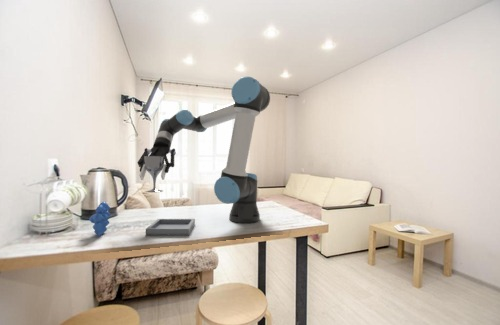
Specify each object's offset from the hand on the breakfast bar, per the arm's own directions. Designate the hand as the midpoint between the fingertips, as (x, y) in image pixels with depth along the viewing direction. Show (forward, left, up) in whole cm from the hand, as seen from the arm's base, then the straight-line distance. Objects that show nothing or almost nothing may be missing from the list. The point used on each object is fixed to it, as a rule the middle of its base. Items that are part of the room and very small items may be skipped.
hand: (151, 177), depth 94 cm
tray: (-9, +2, -21) cm, 23 cm away
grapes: (+17, +7, -21) cm, 28 cm away
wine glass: (0, -3, -6) cm, 7 cm away
